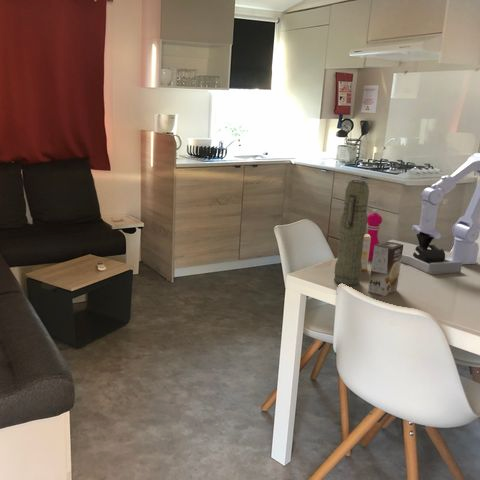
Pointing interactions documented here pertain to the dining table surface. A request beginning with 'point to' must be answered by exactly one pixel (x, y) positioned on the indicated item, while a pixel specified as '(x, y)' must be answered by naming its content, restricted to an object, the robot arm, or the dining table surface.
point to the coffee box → (385, 268)
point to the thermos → (352, 233)
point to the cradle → (433, 265)
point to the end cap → (430, 254)
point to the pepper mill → (373, 230)
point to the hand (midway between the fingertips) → (423, 251)
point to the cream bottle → (365, 251)
